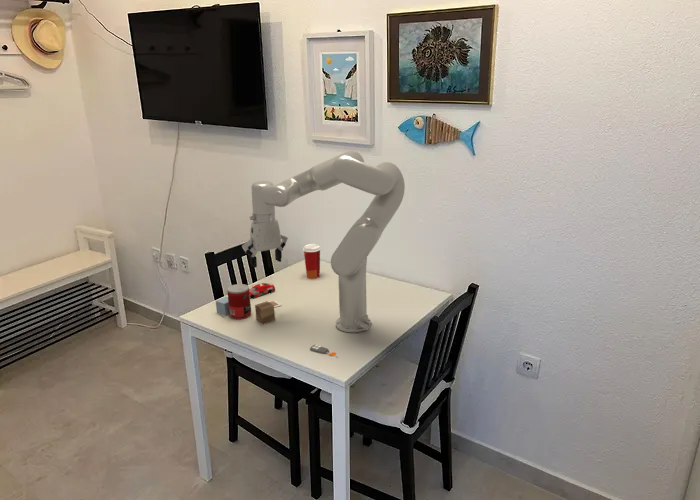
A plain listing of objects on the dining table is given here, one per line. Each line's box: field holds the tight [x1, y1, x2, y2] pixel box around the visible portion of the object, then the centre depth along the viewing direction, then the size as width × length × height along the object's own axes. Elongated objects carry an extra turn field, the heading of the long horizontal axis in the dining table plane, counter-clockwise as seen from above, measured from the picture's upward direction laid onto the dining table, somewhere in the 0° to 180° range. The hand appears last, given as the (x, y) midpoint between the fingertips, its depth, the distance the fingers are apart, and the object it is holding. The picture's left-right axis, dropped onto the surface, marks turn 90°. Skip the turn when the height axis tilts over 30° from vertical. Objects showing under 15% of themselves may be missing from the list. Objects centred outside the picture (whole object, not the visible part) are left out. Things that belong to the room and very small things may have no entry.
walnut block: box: [254, 300, 276, 325], centre depth 195 cm, size 5×5×6 cm
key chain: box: [309, 344, 340, 359], centre depth 172 cm, size 13×4×2 cm, turn 58°
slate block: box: [215, 296, 230, 317], centre depth 203 cm, size 5×5×5 cm
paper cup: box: [302, 243, 322, 280], centre depth 233 cm, size 8×8×14 cm
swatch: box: [268, 299, 282, 309], centre depth 208 cm, size 6×6×1 cm
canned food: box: [226, 283, 252, 320], centre depth 199 cm, size 8×8×11 cm
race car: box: [249, 282, 276, 300], centre depth 219 cm, size 13×5×4 cm, turn 124°
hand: (266, 263), depth 191 cm, fingers open, 9 cm apart
